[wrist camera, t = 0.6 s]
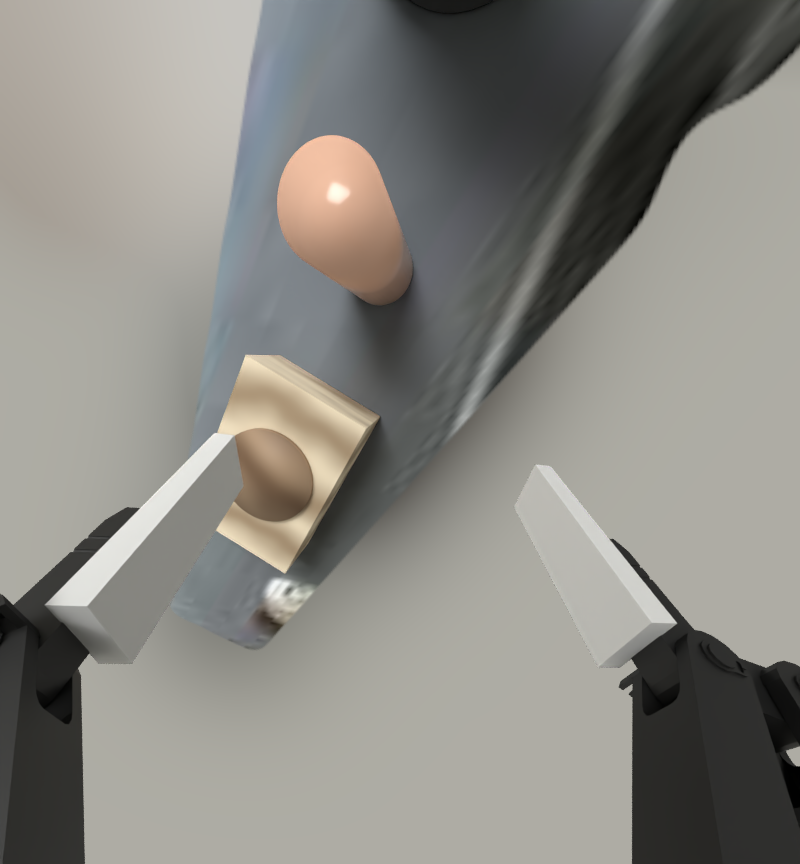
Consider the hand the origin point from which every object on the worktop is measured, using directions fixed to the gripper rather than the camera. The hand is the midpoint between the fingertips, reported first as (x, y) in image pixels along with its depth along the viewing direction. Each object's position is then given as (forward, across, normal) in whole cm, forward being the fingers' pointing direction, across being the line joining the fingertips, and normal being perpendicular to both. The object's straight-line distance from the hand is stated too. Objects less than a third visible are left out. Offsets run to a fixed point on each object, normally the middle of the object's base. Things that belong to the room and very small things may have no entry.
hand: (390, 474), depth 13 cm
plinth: (+18, -9, -14) cm, 25 cm away
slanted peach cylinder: (+22, -2, +7) cm, 23 cm away
